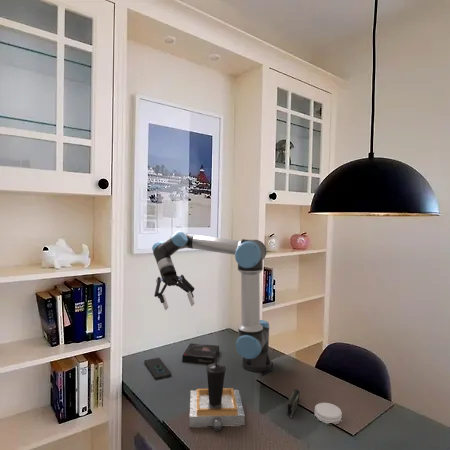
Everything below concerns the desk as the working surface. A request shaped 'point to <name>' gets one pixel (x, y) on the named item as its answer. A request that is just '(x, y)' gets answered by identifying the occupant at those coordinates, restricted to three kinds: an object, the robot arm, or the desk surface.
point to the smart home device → (157, 368)
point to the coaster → (328, 412)
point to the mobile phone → (293, 402)
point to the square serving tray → (216, 409)
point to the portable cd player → (200, 354)
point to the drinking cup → (215, 382)
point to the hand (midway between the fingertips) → (180, 306)
